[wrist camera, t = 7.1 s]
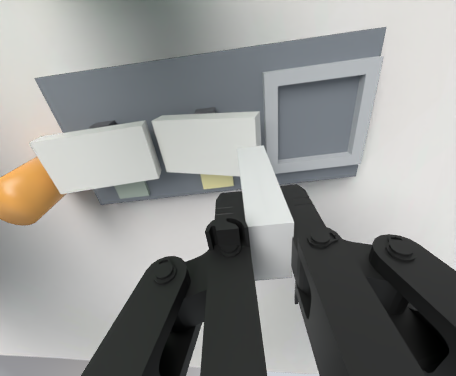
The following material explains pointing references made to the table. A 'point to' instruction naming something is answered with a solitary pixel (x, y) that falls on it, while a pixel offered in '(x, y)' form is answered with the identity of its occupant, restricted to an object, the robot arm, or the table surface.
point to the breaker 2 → (206, 141)
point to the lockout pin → (27, 193)
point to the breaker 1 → (98, 157)
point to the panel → (238, 105)
